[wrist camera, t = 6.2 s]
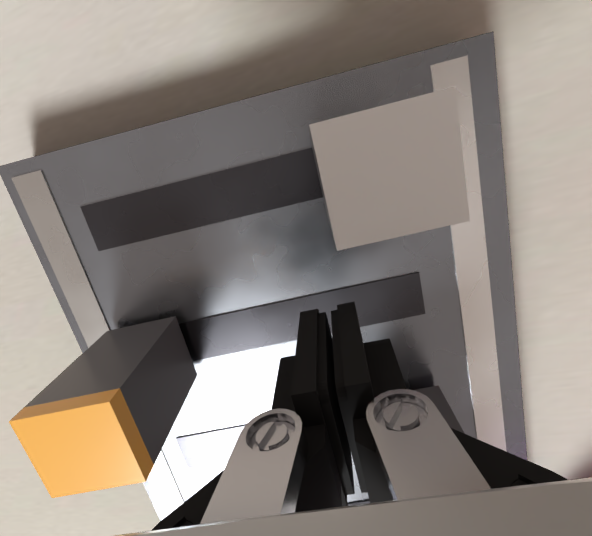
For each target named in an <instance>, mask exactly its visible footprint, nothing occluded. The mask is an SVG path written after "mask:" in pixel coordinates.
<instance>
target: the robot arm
mask: <svg viewBox="0 0 592 536" xmlns="http://www.w3.org/2000/svg"><path fill="white" fill-rule="evenodd" d="M331 322H332V335H331V331H330V327H329V323H328V318H327V315H326V312H322V313H319V310H318V309H313V310H308V311H303V312H300V318H299V327H298V336H297V344H296V353H295V355H294V356H288V357H282V358H281V359H280V363H279V368H278V374H277V380H276V385H275V391H274V397H273V402H272V408H271V410H268V411H265V412H263V413H260V414H259V415H257V416H255V417H254V418H252V419H251V420H250V421H249V422H248V423H247V424H246V425H245V426H244V428H243V430H242V431H241V433H240V435H239V437H238V440H237V442H236V444H235V446H234V449H233V451H232V453H231V455H230V458H229V460H228V462H227V464H226V466H225V469H224V470H223V471H222V472H220V473H219V474H218V475H217V476H215V477H214V478H213V479H212V480H211V481H209V482H208V483H207V484H206V485H204V486H203V487H202V488H201V489H200V490H198V491H197V492H196V493H195V494H193V495H192V496H191V497H190V498H189V499H187V500H186V501H185V502H184V503H182V504H181V505H180V506H179V507H177V508H176V509H175V510H174V511H173V512H171V513H170V514H169V515H168V516H166V517H165V518H164V519H163V520H162V521H160V522H159V523H158V524H157V525H156V526H155V527H154V528H153V529H152V530H151V531H145V532H138V533H130V534H122V535H115V536H592V477H591V478H582V479H574V480H567V479H565V478H564V477H562V476H560V475H558V474H556V473H555V472H553V471H550V470H548V469H546V468H543V467H541V466H539V465H536V464H534V463H532V462H529V461H527V460H525V459H522V458H520V457H518V456H516V455H513V454H511V453H509V452H506V451H504V450H502V449H499V448H497V447H495V446H492V445H490V444H488V443H485V442H483V441H481V440H478V439H476V438H474V437H471V436H469V435H467V434H464V433H462V432H460V431H457V430H455V429H453V428H450V427H449V425H448V424H447V422H446V421H445V419H444V418H443V416H442V415H441V413H440V412H439V410H438V409H437V407H436V406H435V404H434V403H433V402H432V401H431V400H430V399H429V398H428V397H427V396H426V395H424V394H422V393H420V392H417V391H414V390H410V389H407V388H406V385H405V382H404V379H403V376H402V373H401V370H400V367H399V364H398V361H397V358H396V355H395V353H394V350H393V347H392V344H391V341H390V339H389V338H388V339H382V340H377V341H371V342H366V343H363V339H362V334H361V330H360V325H359V320H358V316H357V311H356V306H355V302H349V303H344V304H339V305H337V310H333V311H331ZM351 454H352V457H351ZM352 458H353V462H354V466H355V470H356V474H357V478H358V482H359V486H360V490H361V493H367V492H368V496H369V500H370V503H367V504H359V505H351V506H348V502H347V495H351V494H355V489H354V478H353V468H352Z"/></svg>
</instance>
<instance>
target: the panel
mask: <svg viewBox="0 0 592 536" xmlns="http://www.w3.org/2000/svg"><path fill="white" fill-rule="evenodd" d="M451 87H455V89H456V98H457V107H458V116H459V125H460V134H461V143H462V153H463V162H464V171H465V180H466V189H467V198H468V207H469V217H470V221H467V222H463V223H458V224H454V225H449V226H445V227H441V228H436V229H432V230H427V231H423V232H418V233H414V234H410V235H405V236H401V237H396V238H392V239H387V240H383V241H379V242H374V243H370V244H365V245H361V246H356V247H352V248H348V249H343V250H339V251H337V249H336V245H335V241H334V238H333V234H332V231H331V227H330V223H329V220H328V216H327V212H326V208H325V203H324V199H323V194H322V190H321V185H320V181H319V176H318V172H317V167H316V163H315V158H314V154H313V149H312V145H311V140H310V136H309V124H313V123H317V122H321V121H325V120H328V119H332V118H336V117H340V116H344V115H348V114H351V113H355V112H359V111H363V110H367V109H371V108H374V107H378V106H382V105H386V104H390V103H394V102H397V101H401V100H405V99H409V98H413V97H417V96H420V95H424V94H428V93H432V92H436V91H439V90H443V89H447V88H451ZM0 175H1V177H2V179H3V181H4V184H5V186H6V188H7V190H8V192H9V194H10V196H11V199H12V201H13V203H14V205H15V207H16V209H17V212H18V214H19V216H20V218H21V220H22V222H23V225H24V227H25V229H26V231H27V233H28V235H29V238H30V240H31V242H32V244H33V246H34V248H35V251H36V253H37V255H38V257H39V259H40V261H41V264H42V266H43V268H44V270H45V272H46V274H47V277H48V279H49V281H50V283H51V285H52V287H53V290H54V292H55V294H56V296H57V298H58V300H59V303H60V305H61V307H62V309H63V311H64V313H65V315H66V318H67V320H68V322H69V324H70V326H71V328H72V331H73V333H74V335H75V337H76V339H77V341H78V344H79V346H80V348H81V350H82V352H83V353H84V352H85V351H86V350H87V349H88V348H89V347H90V346H91V345H92V344H94V343H95V342H96V341H97V340H98V339H99V338H100V337H101V336H102V335H103V334H104V333H105V332H107V331H109V330H114V329H119V328H123V327H128V326H132V325H137V324H142V323H146V322H151V321H155V320H160V319H165V318H169V317H174V316H176V318H177V321H178V324H179V326H180V329H181V332H182V334H183V337H184V340H185V343H186V345H187V348H188V351H189V353H190V356H191V359H192V362H193V364H194V367H195V370H196V372H197V377H196V379H195V381H194V383H193V385H192V387H191V389H190V391H189V393H188V396H187V398H186V400H185V402H184V404H183V406H182V408H181V410H180V412H179V414H178V416H177V418H176V420H175V423H174V425H173V427H172V429H171V431H170V433H169V435H168V437H167V439H166V441H165V443H164V445H163V447H162V450H161V452H160V454H159V456H158V458H157V460H156V462H155V464H154V466H153V468H152V470H151V472H150V474H149V476H148V479H147V481H146V482H143V484H144V486H145V489H146V491H147V493H148V495H149V497H150V499H151V502H152V504H153V506H154V508H155V510H156V512H157V515H158V517H159V519H160V521H162V520H163V519H164V518H165V517H166V516H168V515H169V514H170V513H171V512H173V511H174V510H175V509H176V508H177V507H179V506H180V505H181V504H182V503H184V502H185V501H186V500H187V499H189V498H190V497H191V496H192V495H193V494H195V493H196V492H197V491H198V490H200V489H201V488H202V487H203V486H204V485H206V484H207V483H208V482H209V481H211V480H212V479H213V478H214V477H215V476H217V475H218V474H219V473H220V472H222V471H223V470H224V469H225V466H226V464H227V462H228V460H229V458H230V455H231V453H232V451H233V449H234V446H235V444H236V442H237V440H238V437H239V435H240V433H241V431H242V430H243V428H244V426H245V425H246V424H247V423H248V422H249V421H250V420H251V419H252V418H254V417H255V416H257V415H259V414H260V413H263V412H265V411H268V410H271V408H272V402H273V397H274V391H275V385H276V380H277V374H278V368H279V363H280V359H281V358H282V357H288V356H294V355H295V353H296V344H297V336H298V327H299V318H300V312H303V311H308V310H313V309H318V310H319V313H322V312H326V315H327V318H328V323H329V327H330V331H331V335H332V322H331V311H333V310H337V305H339V304H344V303H349V302H355V306H356V311H357V316H358V320H359V325H360V330H361V334H362V339H363V343H366V342H371V341H377V340H382V339H388V338H389V339H390V341H391V344H392V347H393V350H394V353H395V355H396V358H397V361H398V364H399V367H400V370H401V373H402V376H403V379H404V382H405V385H406V388H407V389H410V390H416V389H422V388H427V387H433V386H438V385H439V387H440V389H441V391H442V393H443V395H444V396H445V398H446V400H447V402H448V404H449V406H450V407H451V409H452V411H453V413H454V415H455V417H456V418H457V420H458V422H459V424H460V426H461V428H462V429H463V431H464V433H465V434H467V435H469V436H471V437H474V438H476V439H478V440H481V441H483V442H485V443H488V444H490V445H492V446H495V447H497V448H499V449H502V450H504V451H506V452H509V453H511V454H513V455H516V456H518V457H520V458H522V459H525V460H527V451H526V438H525V426H524V413H523V400H522V388H521V375H520V363H519V350H518V337H517V325H516V312H515V299H514V287H513V274H512V261H511V249H510V236H509V224H508V211H507V198H506V186H505V173H504V160H503V148H502V135H501V122H500V110H499V97H498V85H497V72H496V59H495V47H494V34H493V32H490V33H486V34H482V35H479V36H475V37H471V38H468V39H464V40H460V41H457V42H453V43H449V44H446V45H442V46H438V47H435V48H431V49H427V50H424V51H420V52H416V53H413V54H409V55H405V56H402V57H398V58H394V59H391V60H387V61H383V62H380V63H376V64H372V65H369V66H365V67H361V68H358V69H354V70H350V71H347V72H343V73H339V74H336V75H332V76H328V77H325V78H321V79H317V80H314V81H310V82H306V83H303V84H299V85H295V86H292V87H288V88H284V89H281V90H277V91H273V92H270V93H266V94H262V95H259V96H255V97H251V98H248V99H244V100H240V101H237V102H233V103H229V104H226V105H222V106H218V107H215V108H211V109H207V110H204V111H200V112H196V113H193V114H189V115H185V116H182V117H178V118H174V119H171V120H167V121H163V122H160V123H156V124H152V125H149V126H145V127H141V128H138V129H134V130H130V131H127V132H123V133H119V134H116V135H112V136H108V137H105V138H101V139H97V140H94V141H90V142H86V143H83V144H79V145H75V146H72V147H68V148H64V149H61V150H57V151H53V152H50V153H46V154H43V155H39V156H35V157H32V158H28V159H24V160H21V161H17V162H13V163H10V164H6V165H2V166H0ZM351 457H352V454H351ZM352 468H353V478H354V489H355V494H351V495H347V502H348V506H351V505H359V504H367V503H370V500H369V496H368V492H367V493H361V490H360V486H359V482H358V478H357V474H356V470H355V466H354V462H353V458H352Z"/></svg>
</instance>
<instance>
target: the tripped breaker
mask: <svg viewBox="0 0 592 536" xmlns="http://www.w3.org/2000/svg"><path fill="white" fill-rule="evenodd" d="M196 377H197V372H196V370H195V367H194V364H193V362H192V359H191V356H190V353H189V351H188V348H187V345H186V343H185V340H184V337H183V334H182V332H181V329H180V326H179V324H178V321H177V318H176V316H174V317H169V318H165V319H160V320H155V321H151V322H146V323H142V324H137V325H132V326H128V327H123V328H119V329H114V330H109V331H107V332H105V333H104V334H103V335H102V336H101V337H100V338H99V339H98V340H97V341H96V342H95V343H94V344H92V345H91V346H90V347H89V348H88V349H87V350H86V351H85V352H84V353H83V354H82V355H80V356H79V357H78V358H77V359H76V360H75V361H74V362H73V363H72V364H71V365H70V366H69V367H67V368H66V369H65V370H64V371H63V372H62V373H61V374H60V375H59V376H58V377H57V378H56V379H54V380H53V381H52V382H51V383H50V384H49V385H48V386H47V387H46V388H45V389H44V390H43V391H41V392H40V393H39V394H38V395H37V396H36V397H35V398H34V399H33V400H32V401H31V402H30V403H28V404H27V405H26V406H25V407H24V408H23V409H22V410H21V411H20V412H19V413H18V414H17V415H15V416H14V417H13V418H12V419H11V420H10V421H9V423H10V424H11V426H12V428H13V430H14V432H15V433H16V435H17V437H18V439H19V440H20V442H21V444H22V446H23V448H24V449H25V451H26V453H27V455H28V456H29V458H30V460H31V462H32V464H33V465H34V467H35V469H36V471H37V473H38V474H39V476H40V478H41V480H42V481H43V483H44V485H45V487H46V489H47V490H48V492H49V494H50V496H51V497H52V498H55V497H61V496H66V495H72V494H78V493H84V492H90V491H95V490H101V489H107V488H113V487H119V486H124V485H130V484H136V483H142V482H146V481H147V479H148V476H149V474H150V472H151V470H152V468H153V466H154V464H155V462H156V460H157V458H158V456H159V454H160V452H161V450H162V447H163V445H164V443H165V441H166V439H167V437H168V435H169V433H170V431H171V429H172V427H173V425H174V423H175V420H176V418H177V416H178V414H179V412H180V410H181V408H182V406H183V404H184V402H185V400H186V398H187V396H188V393H189V391H190V389H191V387H192V385H193V383H194V381H195V379H196Z"/></svg>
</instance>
